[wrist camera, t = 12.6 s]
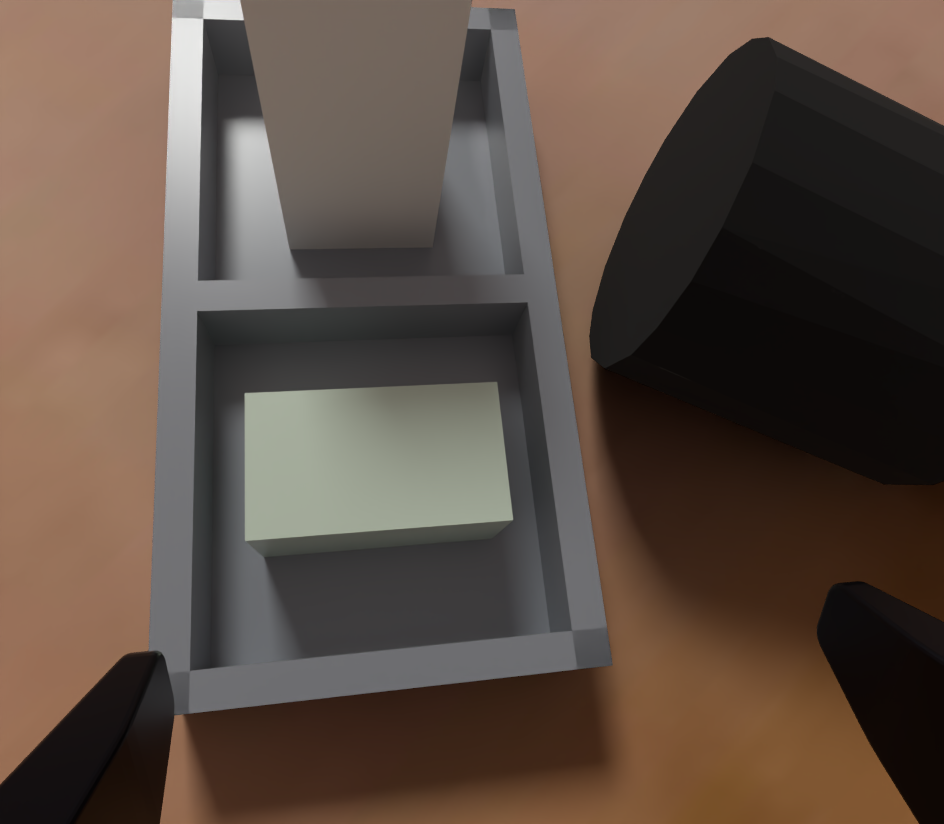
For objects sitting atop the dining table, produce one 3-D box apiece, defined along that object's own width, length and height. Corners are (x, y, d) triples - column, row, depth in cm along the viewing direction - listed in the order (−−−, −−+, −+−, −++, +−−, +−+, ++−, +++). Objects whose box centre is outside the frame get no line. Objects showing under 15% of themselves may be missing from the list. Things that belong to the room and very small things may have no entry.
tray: (576, 662, 23) (625, 666, 18) (181, 707, 21) (133, 722, 16) (498, 80, 29) (520, -15, 25) (196, 72, 28) (165, -32, 23)
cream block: (432, 247, 25) (483, -72, 14) (289, 249, 25) (222, -87, 13) (421, 131, 27) (459, -240, 16) (286, 130, 26) (224, -263, 15)
